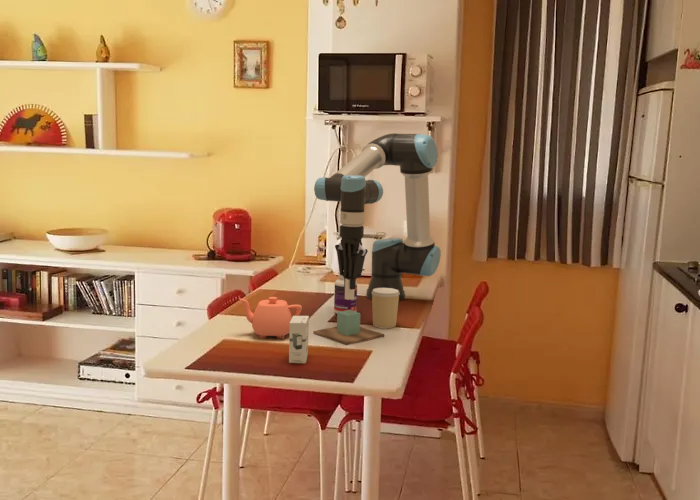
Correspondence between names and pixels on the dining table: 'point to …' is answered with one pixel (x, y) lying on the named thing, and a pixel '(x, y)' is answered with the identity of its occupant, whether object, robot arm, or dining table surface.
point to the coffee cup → (385, 307)
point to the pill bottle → (343, 297)
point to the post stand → (351, 339)
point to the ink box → (298, 339)
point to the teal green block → (348, 322)
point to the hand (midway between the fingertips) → (349, 298)
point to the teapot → (271, 317)
